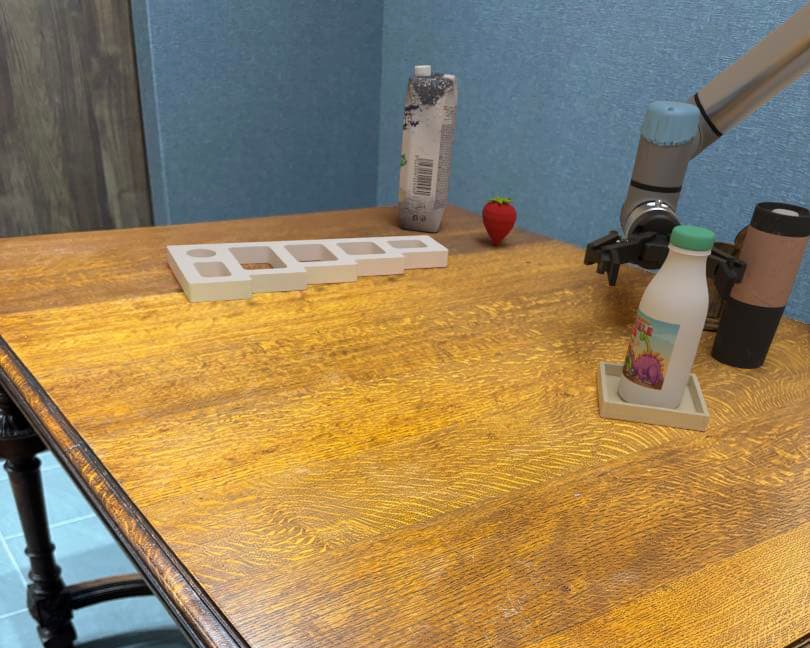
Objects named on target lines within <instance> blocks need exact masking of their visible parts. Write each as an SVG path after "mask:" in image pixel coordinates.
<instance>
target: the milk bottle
mask: <svg viewBox="0 0 810 648" xmlns="http://www.w3.org/2000/svg"><path fill="white" fill-rule="evenodd" d="M715 240H716V233H715V232H714V231H712V230H710V229H708V228H705V227H701V226H696V225H687V224H685V225H684V224H683V225H682V224H681V226H676V227H674V229H673V230H672V233H671V237H670V244H669V245H668V247H669V249H670V250H669V254H668V256H667V258H666V260H665V262H664V264H663V265H662V267H661V269H658V271H657V272H656V274H655V275H654V277H652V280H650V282H649V283H648V285H647V286H646V288H645V290H644V292H643V294H642V296H641V299H640V302H639V305H638V308H637V311H636V316H635V320H634V323H633V326H632V330H631V335H630V338H629V342H628V346H627V350H626V354H625V357H624V362H623V364H624V366H623V370H622V374H621V378H620V382H619V387H618V391H619V394H620V396H621V397H622V399H624V400H625V401H626V402H628V403H632V404H639V405H646V406H653V407H661V408H668V409H674V408H676V407H677V406H678V405H679V404H680V403H681V401H682V398H683V395H684V392H685V389H686V385H687V382H688V379H689V375H690V373H691V371H692V369H693V366H694V362H695V359H696V354H697V352H698V348H699V346H700V345H699V344H700V341H701V339H702V334H703V331H704V330H703V328H704V324H705V320H706V316H707V311H708V303H709V296H708V288H707V281H706V260H707V257H708V255H710V254H711V249H712V247H713V244H714V242H716V241H715Z"/></svg>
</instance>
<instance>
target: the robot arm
mask: <svg viewBox="0 0 810 648" xmlns="http://www.w3.org/2000/svg"><path fill="white" fill-rule="evenodd" d="M808 72H810V0H809V1H808V2H807V3H806V4H804V5H803V6H802V7H801V8H799V9H798V10H797V11H795V12H794V13H793V14H792V15H791V16H790V17H788V18H787V19H786V20H784V21H783V22H782V23H781V24H780V25H779V26H777V27H775V29H773V30H772V31H771V32H770V33H769V34H767V35H766V36H764V38H762V39H760V41H758V42H757V43H756V44H755V45H754V46H752V47H751V48H749V50H748V51H745V53H744V54H742V55H741V56H740V57H739V58H737V59H736V60H735V61H734V62H733V63H731V64H730V65H729V66H727V67H726V68H725V69H724V70H723V71H721V72H720V73H719V74H718V75H716V76H715V77H714V78H712V80H710V81H709V82H708V83H706V84H705V85H704V86H703V87H701V88H700V89H699V90H698V91H697V92H696V93H695V94H693V95H692V96H690V97H689V98H688V99H686V100H685V101H684V102H681V101H672V100H655V101H652V102H651V103H650V104H649V105H648V106H647V109H646V112H645V116H644V119H643V123H642V124H641V127H640V136H639V139H638V140H639V141H638V145H637V148H636V155H635V158H634V163H633V170H632V174H631V178H630V182H629V184H628V190H627V193H626V198H625V199H624V201H623V203H622V204H621V208H620V213H619V222H620V226H621V230H622V232H623V236H624V238H623V237H622V234H621V233H619V231H617V230H616V229H615V230H614V229H613V230H610V231H609V232H608V234H606V235H604V236H602V237H599V238H597V239H595V240H592V241H591V242H589V243H587V244H586V248H585V253H584V256H583V257H584V258H583V262H582V263H583V265H585V266H592V265H596V264H597V265H596V266H597V267H596V274H599V275H605V274H606V276H607V281H608V286H609V287H616V285H617V282H618V281H617V280H618V277H619V272H620V268H621V265H626V264H631V265H634V266H635V265H637V266H638V267H640V268H641V269H644V270H649V271H657V270H660V269H661V267H662V265H663V264H664V262H665V260H666V258H667V256H668V254H669V250H670V249H669V247H668V245H669V244H670V237H671V233H672V230H673V229H674V227H676V226H682V224H681V222H680V220H679V218H678V217H677V215H676V211H677V208H678V205H679V200H680V196H681V193H682V188H683V183H684V180H685V176H686V173H687V169H688V167H689V166H688V165H689V162H690V161H691V160H693V159H695V158H697V156H698V155H700V154H701V153H703V151H705V150H706V149H707V148H708V147H709V146H711V145H713V144H714V143H715V142H717V140H719V139H721V137H722V136H724V135H725V134H727V133H728V132H729V131H730V130H732V129H733V128H735V127H736V126H737V125H739V124H740V123H741V122H742V121H744V120H745V119H747V118H748V117H750V116H751V115H752V114H753V113H754V112H756V111H758V109H760V108H761V107H762V106H764V105H765V104H767V103H768V102H769V101H771V100H772V99H774V98H775V97H776V96H777V95H779V94H780V93H781V92H783V91H784V90H785V89H787V88H788V87H789V86H791V85H792V84H793V83H794V82H796V81H797V80H798V79H800V78H801V77H803V76H804V75H805V74H807V73H808ZM746 267H747V263H745V262H743V261H741V260H739V259H737V258H736V257H734V256H731V255H729V254H727V253H725V252H723V251H721V250H719V249H717V248H715V247H714V246H713V247H712V249H711V254H710V255H708V257H707V260H706V277H708V278H711V279H713V280H714V285H715V287H716V289H717V291H718V293H719V295H720V297H721V299H722V300H729V297H730V293H731V290H732V288H733V287H734V285H735V284H740V283H742V279H743V276H744V273H745V270H746Z"/></svg>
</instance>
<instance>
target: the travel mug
mask: <svg viewBox="0 0 810 648" xmlns="http://www.w3.org/2000/svg"><path fill="white" fill-rule="evenodd" d="M749 224H750V225H749ZM749 224H748V225H749V228H748V231H747V234H746V237H745V240H744V243H743V247H742V250H741V253H740V256H739V260H741V261H743V262H745V263H747V267H746V270H745V273H744V276H743V279H742V283H740V284H735V285H734V287H733V288H732V290H731V293H730V297H729V300H725V304H724V308H723V311H722V315H721V318H720V322H719V326H718V329H717V331H716V333H715V336H714V340H713V343H712V347H711V351H710V352H711V353H710V354H711V356H712V358H714V359H715V360H716V361H718V362H720V363H722V364H725V365H728V366H731V367H735V368H741V369H756V368H757V369H758V368H760V367H762V366H763V364H764V363H765V361H766V358H767V355H768V353H769V350H770V348H771V346H772V343H773V340H774V338H775V335H776V332H777V330H778V327H779V325H780V323H781V319H782V317H783V315H784V312H785V310H786V307H787V305H788V303H789V302H788V301H789V299H790V296H791V293H792V290H793V287H794V284H795V281H796V279H797V275H798V273H799V270H800V267H801V264H802V261H803V258H804V256H805V253H806V249H807V246H808V243H809V241H810V209H809V208H808V207H804V206H801V205H797V204H793V203H785V202H778V201H761V202H757V203H756V205H755V207H754V210H753V213H752V216H751V219H750V222H749Z"/></svg>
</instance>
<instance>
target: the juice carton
mask: <svg viewBox="0 0 810 648" xmlns="http://www.w3.org/2000/svg"><path fill="white" fill-rule="evenodd" d="M406 87H407V88H406V93H405V99H404V108H403V109H404V111H403V122H402V123H403V125H402V138H401V139H402V140H401V153H400V154H401V155H400V166H399V167H400V170H399V183H398V198H397V199H398V201H397V213H398V221H399V228H400V229H401V230H402V229H403V230H408V231H409V230H410V231H417V232H426V233H437V232H438V231H439V229H440V226H441V223H442V221H443V218H444V216H445V212H446V209H447V204H448V198H449V188H450V178H451V169H452V158H453V149H454V140H455V129H456V128H455V127H456V119H457V108H458V107H457V106H458V77H457V75H455V74H448V73H441V72H432V66H431V65H415V66H414V73H413V75H410V76H409V77H408V82H407V86H406Z"/></svg>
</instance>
